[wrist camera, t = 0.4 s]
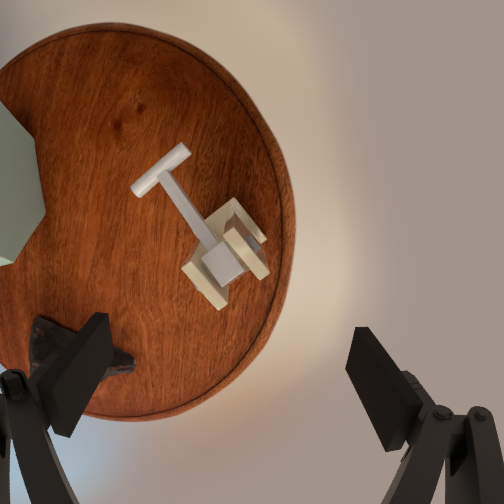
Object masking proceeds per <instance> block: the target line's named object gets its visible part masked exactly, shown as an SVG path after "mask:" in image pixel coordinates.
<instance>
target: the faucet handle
mask: <svg viewBox="0 0 504 504" xmlns="http://www.w3.org/2000/svg"><path fill="white" fill-rule="evenodd" d="M191 154H192V153H191V151H190V150H189V149H188V147H187V146H186V145H185V144H184V143H183V142H180V143H179V144H178V145H177V146H176V147H174V148H173V149H172V150H171V151H170V152H168V153H167V154H166V155H165V156H164V157H162V158H161V159H160V160H159V161H158V162H157V163H156V164H154V165H153V166H152V167H151V168H150V169H149V170H148V171H146V172H145V173H144V174H143V175H142V176H141V177H140V178H139V179H138V180H137V181H135V182H134V183H133V184H132V185H131V190H132V192H133V193H134V194H135V195H136V196H137V197H139V198H141V197H142V196H143V195H145V194H146V193H147V192H148V191H149V190H150V189H151V188H152V187H154V186H155V185H156V184H157V183H158V182H160V183H161V185H162V186H163V188H164V189H165V191H166V192H167V193H168V195H169V196H170V198H171V199H172V201H173V202H174V204H175V205H176V207H177V208H178V210H179V211H180V213H181V214H182V215H183V217H184V218H185V220H186V221H187V223H188V224H189V226H190V227H191V228H192V230H193V231H194V233H195V234H196V236H197V237H198V238H199V240H200V241H201V243H202V244H203V246H204V247H205V248H206V250H207V251H208V252H207V253H206V254H205V255H204V256H202V257H201V259H202V260H203V262H204V263H205V264H206V266H207V267H208V269H209V270H210V271H211V273H212V274H213V276H214V277H215V279H216V280H217V281H218V283H219V284H220V286H221V287H224V286H227V285H230V284H231V283H232V282H234V281H235V280H236V279H238V278H239V277H240V276H242V275H243V274H245V273H246V272H247V271H249V270H250V268H249V267H248V266H247V265H246V263H245V262H244V261H243V260H242V259H241V257H240V256H239V255H238V254H237V252H236V251H235V250H234V249H233V248H232V246H231V245H230V244H229V243H228V242H227V241H222V242H220V241H219V240H218V238H217V237H216V235H215V234H214V233H213V231H212V230H211V228H210V227H209V226H208V224H207V223H206V221H205V220H204V219H203V217H202V216H201V214H200V213H199V212H198V210H197V209H196V207H195V206H194V205H193V203H192V202H191V200H190V199H189V198H188V196H187V195H186V193H185V192H184V190H183V189H182V188H181V186H180V185H179V183H178V182H177V180H176V179H175V178H174V176H173V175H172V173H171V171H172V170H173V169H174V168H176V167H177V166H178V165H179V164H180V163H182V162H183V161H184V160H185V159H187V158H188V157H189V156H190V155H191Z"/></svg>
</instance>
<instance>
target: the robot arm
mask: <svg viewBox="0 0 504 504" xmlns="http://www.w3.org/2000/svg"><path fill="white" fill-rule="evenodd" d="M113 358H114V352H113V346H112V339H111V331H110V323H109V315H108V313H100V312H95V313H94V314H93V316H92V317H91V318H90V319H89V320H88V321H87V322H86V324H85V325H84V326H83V327H82V328H81V329H80V331H79V332H78V333H77V334H76V335H75V337H74V338H73V339H72V340H71V341H70V343H69V344H68V345H67V346H66V347H65V349H64V350H63V351H62V352H61V353H60V354H57V353H53V354H51V355H50V356H48V357H46V358H45V359H44V361H43V362H42V363H41V365H39V366H38V368H37V370H35V371H34V372H33V374H32V375H31V376H30V377H29V379H28V380H27V377H26V375H25V373H24V372H23V371H21V370H19V369H9V370H6V371H4V372H3V373H1V374H0V388H1V391H2V393H3V394H0V504H10V487H9V486H10V483H9V481H10V479H9V472H10V469H9V468H10V442H11V439H12V440H13V444H14V448H15V452H16V456H17V460H18V464H19V467H20V471H21V474H22V477H23V480H24V483H25V486H26V489H27V492H28V495H29V498H30V501H31V504H79V502H78V500H77V498H76V496H75V494H74V492H73V490H72V488H71V486H70V484H69V482H68V480H67V477H66V475H65V473H64V470H63V468H62V466H61V464H60V461H59V459H58V456H57V454H56V451H55V449H54V447H53V444H52V441H51V438H50V436H49V434H48V431H47V430H48V428H49V426H50V425H51V426H52V428H53V431H54V433H55V434H58V435H61V436H65V437H68V438H70V436H71V434H72V433H73V431H74V429H75V427H76V425H77V423H78V421H79V419H80V417H81V415H82V414H83V412H84V410H85V408H86V406H87V404H88V402H89V401H90V399H91V397H92V395H93V393H94V391H95V390H96V388H97V386H98V384H99V382H100V381H101V379H102V377H103V375H104V374H105V372H106V370H107V368H108V367H109V365H110V363H111V361H112V360H113ZM345 369H346V371H347V373H348V375H349V377H350V379H351V381H352V383H353V385H354V388H355V389H356V392H357V394H358V396H359V398H360V400H361V402H362V404H363V406H364V408H365V410H366V412H367V414H368V416H369V418H370V420H371V422H372V424H373V426H374V429H375V431H376V433H377V435H378V437H379V439H380V441H381V443H382V446H383V447H384V449H385V452H389V451H395V450H399V449H401V448H402V446H403V444H404V442H405V440H406V441H407V443H408V445H409V447H408V449H407V451H406V452H405V454H404V456H403V458H402V459H401V464H400V466H399V469H398V471H397V473H396V475H395V477H394V479H393V481H392V483H391V485H390V487H389V489H388V491H387V493H386V495H385V497H384V499H383V501H382V503H381V504H430V503H431V500H432V498H433V495H434V492H435V489H436V486H437V483H438V479H439V477H440V473H441V470H442V467H443V463H444V460H445V487H446V488H445V504H504V463H503V458H502V453H501V448H500V443H499V439H498V435H497V431H496V427H495V423H494V419H493V416H492V414H491V412H490V411H489V410H488V409H486V408H484V407H480V406H474V407H472V408H471V409H470V410H469V412H468V414H467V415H454V414H453V412H452V411H451V410H450V409H449V408H447V407H445V406H442V405H436V404H435V403H434V401H433V400H432V398H431V397H430V396H429V394H428V393H427V392H426V391H425V389H423V386H422V385H421V384H419V381H418V380H417V379H416V377H415V376H414V375H412V374H411V373H410V372H408V371H400V369H399V368H398V367H397V365H396V364H395V362H394V361H393V360H392V358H391V357H390V356H389V354H388V353H387V352H386V350H385V349H384V348H383V346H382V345H381V344H380V342H379V341H378V339H377V338H376V337H375V335H373V333H372V332H371V330H370V329H369V328H368V327H355V331H354V336H353V340H352V344H351V348H350V352H349V356H348V360H347V364H346V368H345Z"/></svg>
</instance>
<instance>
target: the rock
mask: <svg viewBox="0 0 504 504" xmlns="http://www.w3.org/2000/svg"><path fill="white" fill-rule="evenodd" d="M75 335H76V333H73V332H71V331H69V330H66V329H65V328H63V327H60V326H57V325H55V324H54V323H53V322H51V321H48V320H45V319H42V318H40V316H37V317H36V318H35V319H34V320H33V324H32V326H31V335H30V342H29V361H30V376H31V375H32V374H33V372H34V371H35V370H37V368H38V366H39V365H41V363H42V362H43V361H44V359H45V358H46V357H48V356H50V355H51V354H53V353H57V354H60V353H61V352H62V351H63V350H64V349H65V347H66V346H67V345H68V344H69V343H70V341H71V340H72V339H73V338H74V337H75ZM113 352H114V358H113V360H112V361H111V363H110V365H109V367H108V368H107V370H106V372H105V374H104V375H103V377H102V379H101V381H100V382H102V381H103V380H105V379H106V378H107V377H108V376H112V375H118V374H121V373H128V374H130V373H132V372H133V371H134V370H135V367H136V359H134V357H133V356H131V355H130V354H129V353H126V352H123V350H121V349H119V348H116V347H113ZM100 382H99V383H100Z"/></svg>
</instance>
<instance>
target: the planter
mask: <svg viewBox="0 0 504 504" xmlns="http://www.w3.org/2000/svg"><path fill="white" fill-rule="evenodd" d="M45 214H46V208H45V203H44V198H43V193H42V187H41V182H40V176H39V170H38V164H37V157H36V149H35V141H34V138H33V137H32V136H31V135H30V134H29V133H28V132H27V131H26V129H25V128H24V127H23V126H22V125H21V124H20V123H19V122H18V121H17V120H16V118H15V117H14V116H13V115H12V114H11V113H10V112H9V111H8V109H7V108H6V107H5V106H4V105H3V104H2V103H1V101H0V266H3V265H7V264H11V263H14V262H15V260H16V258H17V257H18V255H19V253H20V252H21V250H22V249H23V247H24V246H25V244H26V242H27V241H28V239H29V238H30V236H31V235H32V233H33V232H34V230H35V229H36V227H37V226H38V225H39V223H40V222H41V220H42V219H43V217H44V216H45Z"/></svg>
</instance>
